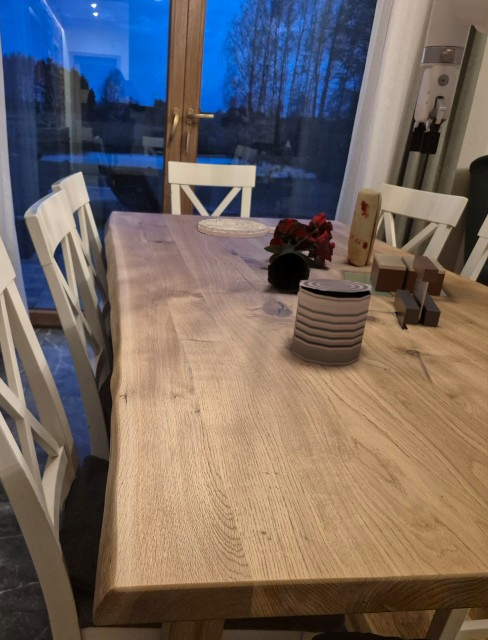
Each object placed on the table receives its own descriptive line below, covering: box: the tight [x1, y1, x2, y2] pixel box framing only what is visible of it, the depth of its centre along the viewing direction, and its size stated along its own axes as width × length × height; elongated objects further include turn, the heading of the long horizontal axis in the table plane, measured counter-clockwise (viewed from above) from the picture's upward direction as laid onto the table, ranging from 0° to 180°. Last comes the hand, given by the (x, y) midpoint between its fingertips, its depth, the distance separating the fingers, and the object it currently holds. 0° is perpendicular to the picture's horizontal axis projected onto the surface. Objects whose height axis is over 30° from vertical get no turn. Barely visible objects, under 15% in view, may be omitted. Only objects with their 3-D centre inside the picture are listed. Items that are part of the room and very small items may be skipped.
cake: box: [400, 255, 447, 297], centre depth 133 cm, size 8×13×6 cm, turn 169°
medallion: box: [197, 218, 276, 239], centre depth 194 cm, size 24×27×2 cm
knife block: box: [393, 289, 442, 330], centre depth 114 cm, size 14×6×4 cm, turn 169°
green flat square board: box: [343, 271, 448, 298], centre depth 135 cm, size 22×20×1 cm
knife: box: [411, 254, 439, 323], centre depth 112 cm, size 12×2×11 cm, turn 169°
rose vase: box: [263, 212, 336, 294], centre depth 140 cm, size 16×18×35 cm
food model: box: [347, 187, 383, 267], centre depth 151 cm, size 10×7×20 cm
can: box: [291, 278, 373, 367], centre depth 93 cm, size 11×11×12 cm
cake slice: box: [369, 252, 406, 294], centre depth 134 cm, size 6×13×6 cm, turn 169°
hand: (421, 152), depth 122 cm, fingers open, 9 cm apart
